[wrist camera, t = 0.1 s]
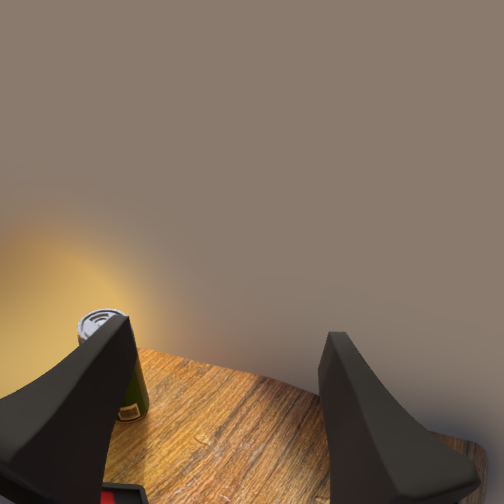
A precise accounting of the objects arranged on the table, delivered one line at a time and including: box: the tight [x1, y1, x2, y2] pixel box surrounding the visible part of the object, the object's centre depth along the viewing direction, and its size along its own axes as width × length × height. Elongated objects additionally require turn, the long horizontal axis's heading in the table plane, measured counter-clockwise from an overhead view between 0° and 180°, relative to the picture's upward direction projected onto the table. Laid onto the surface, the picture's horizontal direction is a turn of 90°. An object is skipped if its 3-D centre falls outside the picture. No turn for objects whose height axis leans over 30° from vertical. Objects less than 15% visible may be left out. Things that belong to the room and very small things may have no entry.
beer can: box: [77, 309, 149, 423], centre depth 29 cm, size 5×5×12 cm
